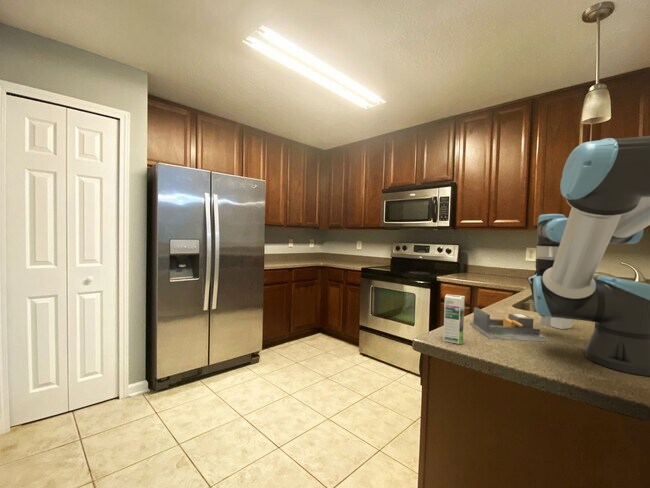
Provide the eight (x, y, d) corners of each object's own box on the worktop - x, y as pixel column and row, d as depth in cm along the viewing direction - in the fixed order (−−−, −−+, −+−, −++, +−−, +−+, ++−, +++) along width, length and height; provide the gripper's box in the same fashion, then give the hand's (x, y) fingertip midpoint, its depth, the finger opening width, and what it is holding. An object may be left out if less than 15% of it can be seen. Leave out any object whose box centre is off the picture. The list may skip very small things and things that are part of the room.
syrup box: (442, 341, 93) (444, 296, 92) (444, 336, 98) (446, 293, 97) (462, 345, 90) (464, 298, 90) (463, 339, 95) (465, 295, 95)
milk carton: (540, 324, 115) (543, 276, 114) (551, 322, 118) (554, 275, 117) (561, 329, 109) (564, 279, 108) (572, 327, 112) (575, 278, 111)
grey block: (532, 331, 100) (533, 318, 100) (517, 330, 101) (518, 317, 100) (522, 326, 106) (523, 313, 106) (508, 325, 106) (508, 313, 106)
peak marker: (523, 335, 96) (524, 324, 96) (518, 334, 96) (519, 324, 96) (507, 325, 106) (508, 316, 106) (503, 325, 106) (503, 316, 106)
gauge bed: (546, 341, 96) (547, 319, 95) (488, 338, 97) (489, 316, 97) (519, 326, 111) (520, 308, 110) (470, 324, 112) (471, 305, 112)
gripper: (561, 258, 105) (557, 323, 106) (523, 257, 106) (519, 321, 107) (577, 260, 98) (573, 329, 98) (536, 258, 99) (532, 327, 99)
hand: (545, 325), depth 103 cm, fingers closed
